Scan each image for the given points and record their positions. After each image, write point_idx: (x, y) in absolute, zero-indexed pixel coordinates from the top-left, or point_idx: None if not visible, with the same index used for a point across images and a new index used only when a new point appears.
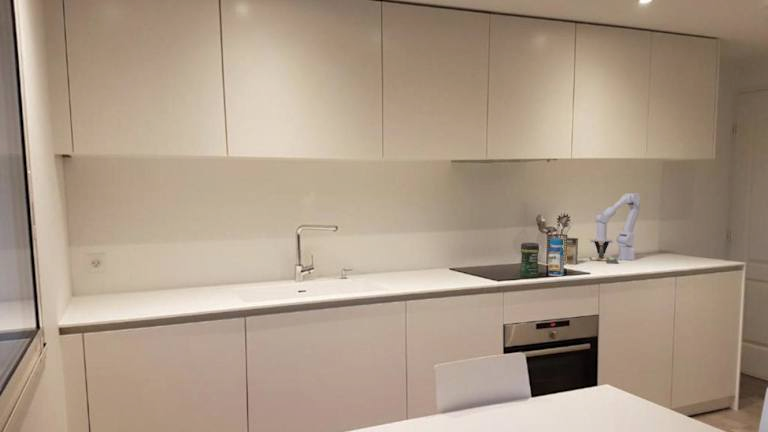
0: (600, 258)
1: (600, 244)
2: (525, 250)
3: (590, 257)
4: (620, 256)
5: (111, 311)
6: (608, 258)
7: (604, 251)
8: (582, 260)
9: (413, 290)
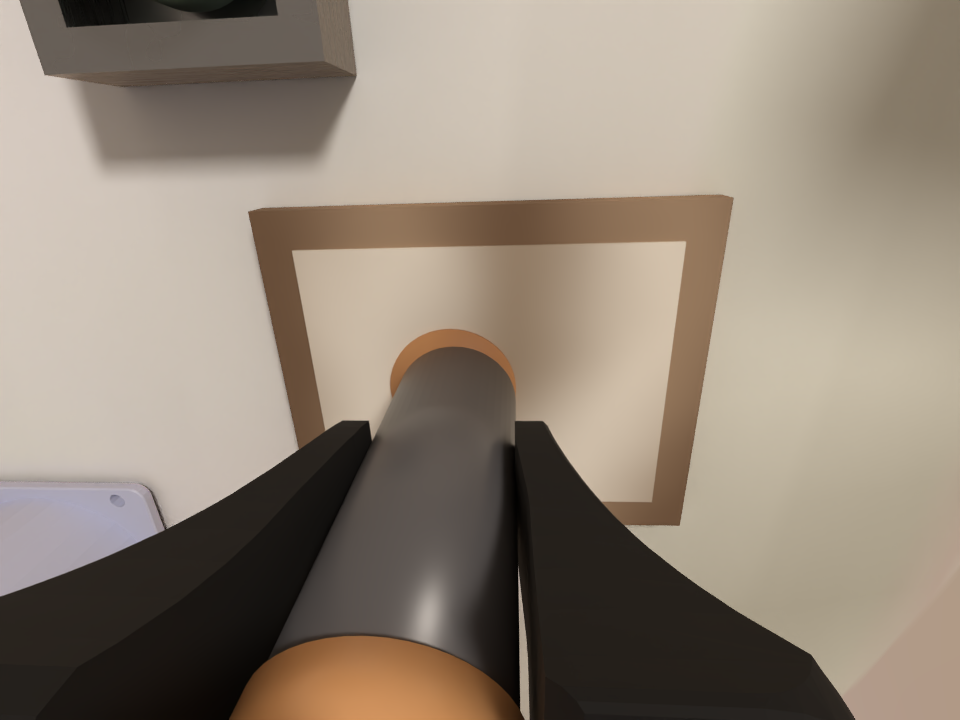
0: None
1: (433, 697)
2: None
3: (661, 513)
4: (92, 559)
5: None
6: None
7: (334, 447)
8: (930, 186)
9: None
